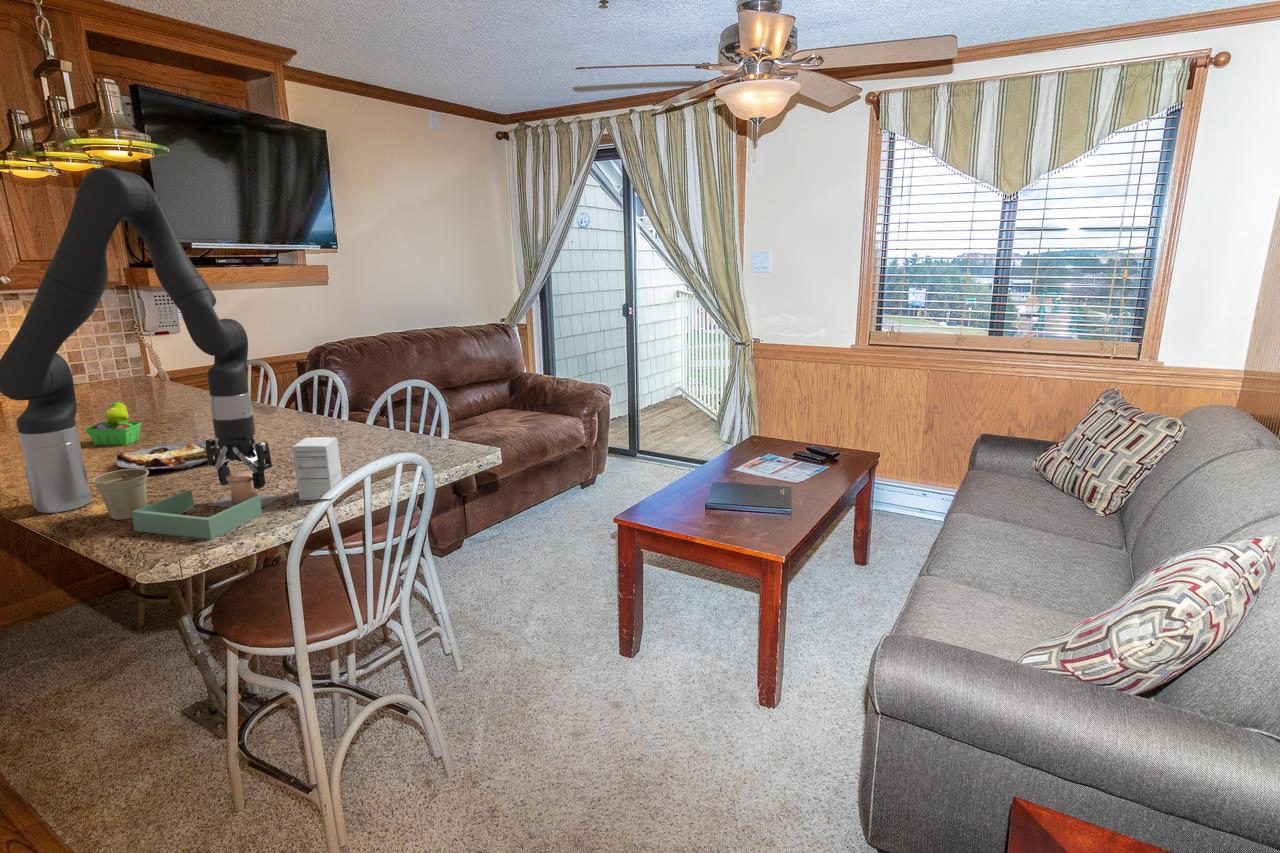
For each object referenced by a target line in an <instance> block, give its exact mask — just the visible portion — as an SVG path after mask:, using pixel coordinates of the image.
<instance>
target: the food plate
mask: <svg viewBox="0 0 1280 853" xmlns="http://www.w3.org/2000/svg"><path fill="white" fill-rule="evenodd" d="M220 453H221V449H220ZM213 459H215V457H214V455H213ZM206 462H207V453H206V443H205V441H188V442H180V443H178V442H176V443H173V442H172V443H169V444H168V443H164V444H159V445H154V446H151V447H147V448H143V449H139V450H135V451H132V452H128V453H127V452H122V453H121V452H120V453H119V454H117V455H116V459H115V460H114V462H113V463H114V465H115V466H116V467H117V468H120V469H124V470H125V469H146V470H148V471H149V472H150V471H155V470H156V469H161V470H165V469H172V470H179V469H186V468H188V469H189V468H192V467H194V466H196V465H197V466H198V465H201V464H203V463H206ZM207 463H208V462H207Z"/></svg>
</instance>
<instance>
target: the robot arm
mask: <svg viewBox="0 0 1280 853" xmlns="http://www.w3.org/2000/svg"><path fill="white" fill-rule="evenodd" d="M122 220H123V221H127V222H128V223H129V225H130V226H131V227H132V228H133V229H134V230H135V232H136V233H137V234H139V235H138V236H140V237H141V239H142V241H143V242H144V244H145V246H146V247H147V250H148V253H149V255H150V258H151V262H152V265H153V269H154V272H155V275H156V277H157V280H158V281H159V283H160V285H161V286H162V288H163V290H164V291H165V293H166V294H167V295H168V297H169V298H170V300H171V301H172V302H173V304H174V305H175V306H176V308H177V309H178V310H179V312H180V314H181V317H182V320H183V322H184V324H185V327H186V329H187V331H188V335H189V336H190V338H191V340H192V341H193V343H194V344H195V346H196V347H197V348H198V349H199V350H200V351H202V352H203V353H204V354H206V355H208V356H213V358H214V361H213V364H212V366H211V367H210V368H209V369H208V371H207V384H208V390H209V396H210V399H209V400H210V401H209V404H210V405H209V406H210V414H211V418H212V419H211V420H212V425H213V432H214V433H213V434H214V437H211V438H208V439H206V440H205V441H204V442H205V443H206V453H207V458H206V459H207V465H208V466H209V467H211V466H213V467H214V468H215V470H217V476H218V481H219V483H220V485H221V486H227V485H228V486H229V481H227V479H226V476H228V475H229V474H231V471H230V467H229V465H230V463H231V462H233V461H238V462H242V463H243V464H244V465H245V466H247V467H248V468H249V469H250V471H253V472H254V473H252V476H253V484H254V488H255V489H258V490H259V489H263V487H264V486H265V485H266V478H265V470H267V469H271V468H272V467H273V463H272V458H271V452H270V448H269V447H270V446H269V443H268V441H266V440H264V441H261V442H256V440H255V438H254V435H255V433H256V428H255V419H254V412H253V406H252V399H251V397H250V393H249V384H248V378H247V373H246V370H247V366H248V354H249V341H248V335H247V332H246V330H245V328H244V326H243V325H242V324H241V323H240V322H239V321H237V320H235V319H233V318H221V319H220V318H219V316H218V315H217V313H216V311H215V308H214V307H215V305H216V304H217V299H216V296H215V295H214V293H213V291H212V290H211V288H210V287H209V285H208V284H207V283H206V281H205V279H204V278H203V277H202V275H201V274H200V272H199V271H198V269H196V267H195V265H194V264H193V262H192V261H191V259H190V257H189V256H188V255H187V253H186V251H185V250H184V248H183V246H182V244H181V242H180V240H179V238H178V237H177V235H176V233H175V231H174V229H173V227H172V225H171V223H170V221H169V220H168V218H167V215H166V213H165V212H164V209H163V207H162V205H161V203H160V201H159V199H158V197H157V195H156V193H155V191H154V190H153V188H152V187H151V185H150V184H149V182H147V180H146V179H145V178H143V177H142V176H140V175H138V174H136V173H134V172H129V171H126V170H118V169H114V168H108V167H107V168H105V167H100V168H99V167H98V168H94V169H91V170H90V171H89V172H87V174H85V176H83V178H82V179H81V181H80V184H79V186H78V190H77V193H76V196H75V199H74V202H73V206H72V210H71V212H70V216H69V219H68V222H67V225H66V228H65V230H64V232H63V235H62V237H61V239H60V241H59V244H58V245H57V248H56V250H55V253H54V255H53V258H52V259H51V262H50V263H49V265H48V267H47V268H46V271H45V273H44V275H43V278H42V280H41V282H40V284H39V286H38V289H37V291H36V294H35V296H34V299H33V301H32V302H31V305H30V307H29V309H28V310H27V313H26V315H25V317H24V319H23V322H22V324H21V326H20V328H19V330H18V331H17V333H16V334H15V336H14V338H13V339H12V340H11V343H10V344H9V345H8V347H7V349H5V351H4V353H3V354H2V356H1V358H0V393H1V394H2V396H5V397H6V398H8V399H10V400H14V401H28V403H27V406H26V408H25V409H24V411H23V412H22V413H21V414H20V415H19V416H18V417H17V419H16V422H15V423H16V427H17V431H18V432H17V433H18V436H19V440H20V441H19V442H20V445H21V448H22V452H23V456H24V457H23V458H24V460H25V465H24V467H23V469H24V473H25V478H26V482H27V486H28V491H29V496H30V499H31V504H32V508H33V509H35V510H36V512H39V513H43V514H45V513H46V514H49V513H51V514H53V513H60V512H67V511H71V510H72V511H73V510H75V509H78V508H82V507H85V506H87V505H88V504H90V503H91V502H92V501H93V500H92V494H91V489H90V486H89V479H88V476H87V470H86V466H85V460H84V456H83V452H82V451H83V450H82V448H81V442H80V437H79V434H78V433H79V432H78V429H77V423H76V416H77V411H78V403H77V402H78V401H77V397H76V390H75V384H74V383H75V382H74V377H73V376H74V375H73V373H72V370H71V368H70V366H69V363H68V362H67V361H66V360H65V359H64V357H62V355H60V354H58V353H57V352H58V350H60V348H61V346H62V345H63V344H64V342H66V341H67V339H68V338H69V337H70V336H72V335H73V334H74V333H75V332H76V331H77V330H78V329H79V328H80V327H81V326H82V325H83V324H85V322H86V321H87V320H88V319H89V318H90V317H91V316H92V314H93V313H94V312H95V310H96V308H97V307H98V305H99V303H100V301H101V299H102V296H103V294H104V292H105V289H106V288H107V284H108V278H109V273H108V263H107V251H108V250H107V249H108V246H109V242H110V240H111V238H112V236H113V234H114V232H115V231H116V229H117V227H118V225H119V224H120V223H121V221H122ZM220 449H221V453H220ZM213 455H214V457H215V459H213ZM264 488H265V487H264Z"/></svg>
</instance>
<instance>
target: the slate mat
mask: <svg viewBox="0 0 1280 853" xmlns="http://www.w3.org/2000/svg"><path fill="white" fill-rule="evenodd" d="M258 495H259V497H260V502H261V507H262V508H264V507H266V506H268V505H267V504H269V503H271V504H272V502H273V503H274V501H275V502H276V500H277V501H279V500H281V499H283V497H282V496H277V495H266V494H258ZM280 498H281V499H280ZM278 499H279V500H278ZM208 505H209V506H208V507H213V506H219V507H218V508H223V507H228V508H231V507H233V506H235V505H234V504H232V500H231V494H229V495H227V496H225V497H223V498H221V499H219V500H217V501H214V502H211V503H209V504H208ZM265 505H266V506H265ZM269 505H270V504H269ZM263 506H264V507H263ZM228 508H227V509H228Z"/></svg>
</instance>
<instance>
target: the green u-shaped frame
mask: <svg viewBox="0 0 1280 853" xmlns="http://www.w3.org/2000/svg"><path fill="white" fill-rule="evenodd" d="M194 507H195V502H194V497H193V490H192V489H186V490H184V491H180V492H178V493H176V494H174V495H171V496H168V497H165V498H163V499H160V500H158V501H155V502H153V503H150V504H148V505H147V506H145V507H142V508H140V509H137V510H134V511H132V512H131V514H132V518H131V519H132V524H133V528H134V531H135V532H140V533H141V532H142V533H143V532H144V533H150V534H151V533H152V534H158V535H159V534H161V535H168V536H169V535H170V536H177V537H186V538H187V537H188V538H196V539H203V540H204V539H205V540H214V539H215V537H216V538H217V536H218V537H220V536H222V535H223V534H225V533H228V532H229V531H232V530H234V529H236V528H239V527H240V526H242V525H244V524H246V523H248V522H250V521H252V520H254V519H257V518H258V517H260V516H262V515H263V511H262V508H261V502H260V497H258V496H255V497H253V498H251V499H248V500H246V501H244V502H242V503H240V504H237V505H235V506H233V507H231V508H225V509H224V510H222V511H220V512H217V513H215V514H213V515H210V516H208V517H207V516H206V517H204V516H196V515H186V514H183V513H185V512H188V511H190V510H192V508H193V509H194ZM189 509H190V510H189ZM187 510H188V511H187ZM184 511H185V512H184ZM182 512H183V513H182ZM180 513H181V514H180ZM219 535H220V536H219ZM213 538H214V539H213Z"/></svg>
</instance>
